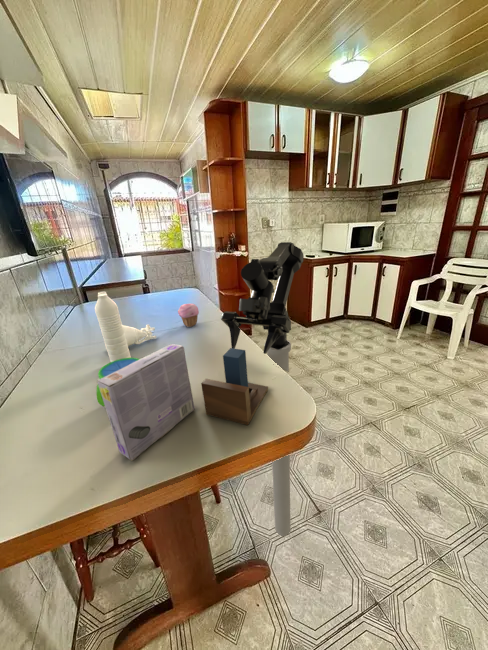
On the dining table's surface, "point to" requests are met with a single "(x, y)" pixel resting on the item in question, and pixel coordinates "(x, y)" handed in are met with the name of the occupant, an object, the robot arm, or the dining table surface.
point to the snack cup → (111, 369)
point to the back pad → (235, 367)
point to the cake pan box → (147, 399)
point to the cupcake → (188, 314)
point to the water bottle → (111, 327)
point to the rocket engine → (137, 334)
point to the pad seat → (232, 400)
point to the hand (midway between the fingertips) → (248, 351)
